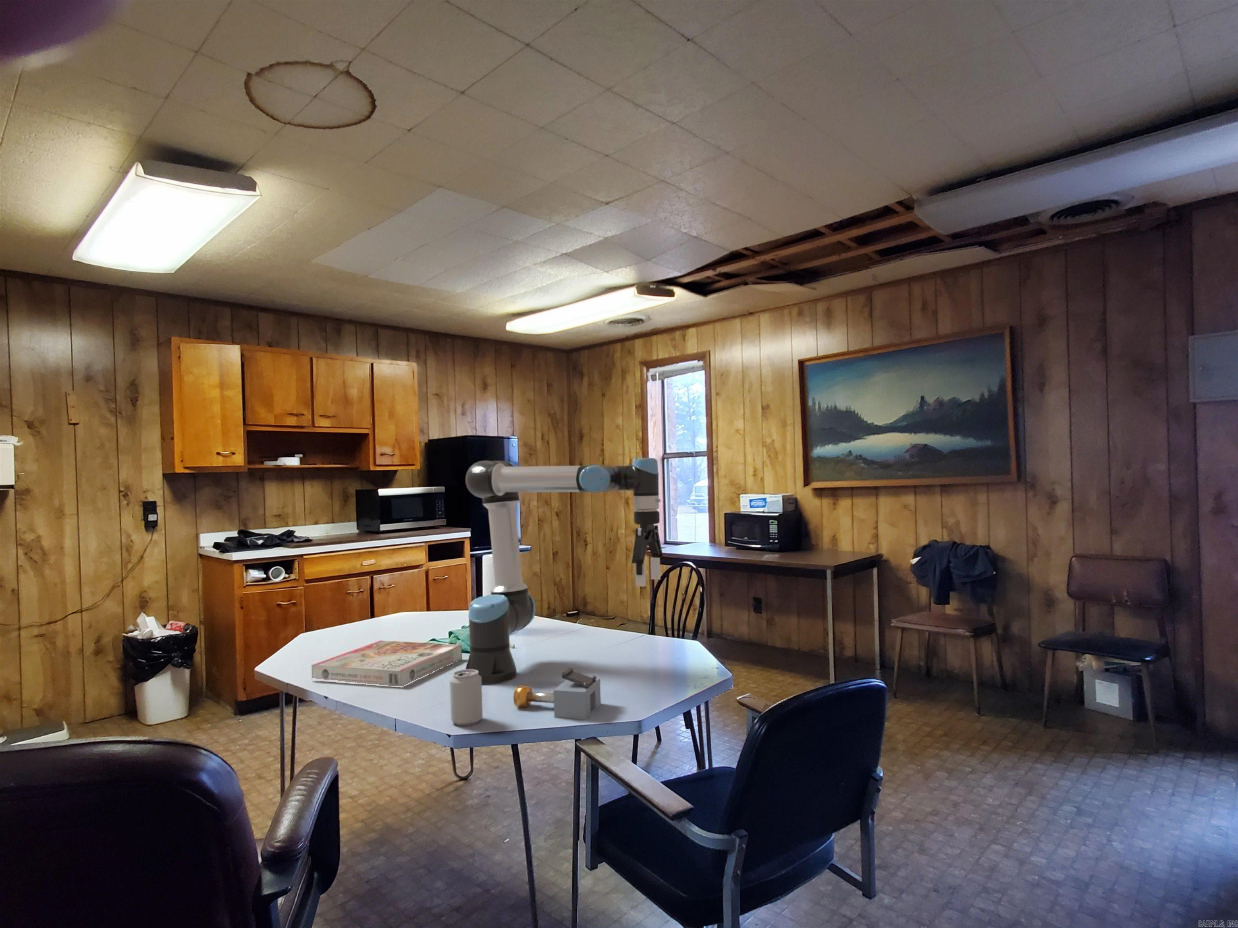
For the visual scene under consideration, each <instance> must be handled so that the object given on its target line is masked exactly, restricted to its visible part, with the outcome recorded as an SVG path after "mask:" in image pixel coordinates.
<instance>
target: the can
mask: <svg viewBox="0 0 1238 928" xmlns="http://www.w3.org/2000/svg"><path fill="white" fill-rule="evenodd" d="M478 673H479V671H477V670H474V669H466V668H465V669H460V670H455V671H454V672H453V673H452V676H451V678H450V680H449V686H450V687H449V688H450V690H449V693H450V720H451V721H452V723H454V725H456V724H457V725H456V726H460V725H467V726H472V725H471V724H473V725H475V723H476V724H478V723H479V722H480V720H481V719H483V691H482V685H483V684H482V682H481V676H480V675H479V674H478Z"/></svg>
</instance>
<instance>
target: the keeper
mask: <svg viewBox="0 0 1238 928" xmlns="http://www.w3.org/2000/svg"><path fill="white" fill-rule="evenodd" d="M574 669H575V668H574V667H568V668H567V669H566V670H565V671H563V672H562V675H561V679H564V680H565V681H566V680H569V681H571V682H574V683H577V684H580V685H582V686H583V687H584V688H588V686H589V685H590V684H592V683H593V682H595V681H596V678H597V676H595V675H592V676H590V675H587V674H584V673H581V672H578V671H575V670H574Z"/></svg>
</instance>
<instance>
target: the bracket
mask: <svg viewBox="0 0 1238 928" xmlns="http://www.w3.org/2000/svg"><path fill="white" fill-rule="evenodd" d="M553 693H554V703H553V709H554V710H553V714H554V715H553V716H554V718H565V719H578V720H586V719H587V718H588V717H589V716H590V715H591V712H592V711H591V710H592V709H597V708H598V707H599V706H600V705H601V704H602V698H601V678H600V677H596V681H595V682H593V683H592V684H590V685H589V686H588V688H584V687H583V686H582V685H580V684H577V683H574V682H571V681H569V680H566V679H565V680H564V681H563V682H562V683H560V684H559V685H558V686H557V687H556V688H555V689H553Z"/></svg>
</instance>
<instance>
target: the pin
mask: <svg viewBox="0 0 1238 928" xmlns="http://www.w3.org/2000/svg"><path fill="white" fill-rule="evenodd" d="M532 689H533V688H532V687H531V686H528V685H527V686H526V685H517V686H516V687H515V689H514V692H513V705H514V706H516V707H525V708H528V707H530V705H531V703H532V702H533V703H545V704H548V703H549V704H554V692H543V691H542V692H540V691H533V690H532Z"/></svg>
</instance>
